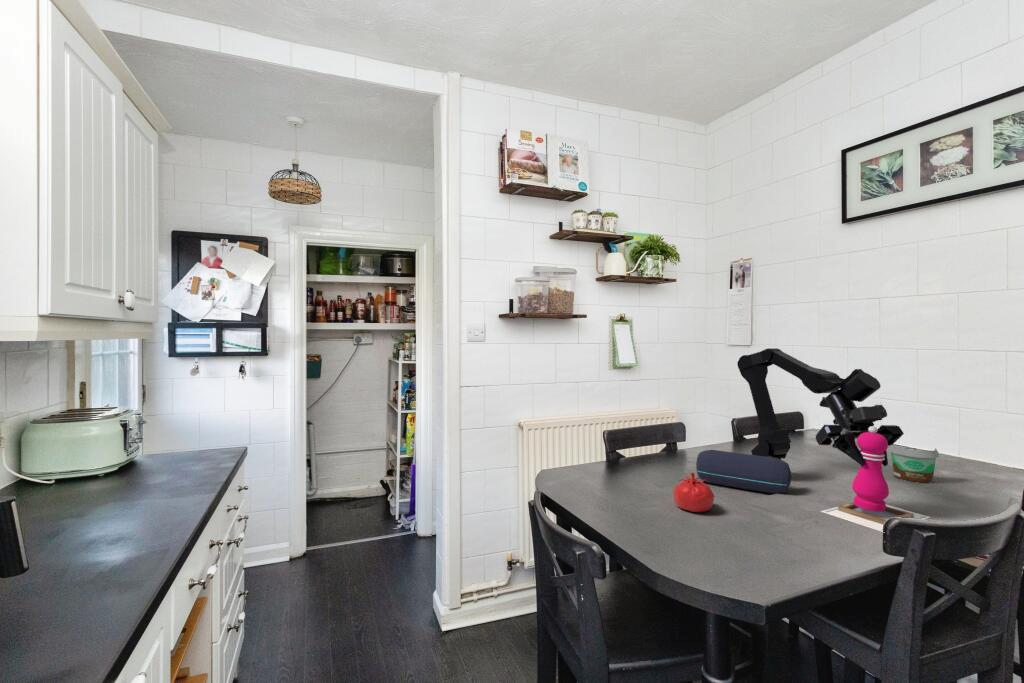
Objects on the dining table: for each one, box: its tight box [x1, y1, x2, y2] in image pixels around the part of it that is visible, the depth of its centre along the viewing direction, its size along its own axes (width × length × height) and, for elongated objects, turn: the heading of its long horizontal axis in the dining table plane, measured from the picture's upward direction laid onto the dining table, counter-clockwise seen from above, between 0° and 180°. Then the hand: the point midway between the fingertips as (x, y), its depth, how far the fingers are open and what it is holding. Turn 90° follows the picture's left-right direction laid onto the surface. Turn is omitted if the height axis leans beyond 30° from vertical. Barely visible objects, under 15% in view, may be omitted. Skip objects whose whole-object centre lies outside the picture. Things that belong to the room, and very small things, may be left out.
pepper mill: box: [851, 426, 890, 512], centre depth 117 cm, size 7×7×20 cm
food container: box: [888, 445, 940, 484], centre depth 146 cm, size 12×6×10 cm, turn 68°
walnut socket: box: [837, 501, 914, 525], centre depth 117 cm, size 11×11×1 cm
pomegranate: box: [672, 471, 715, 513], centre depth 123 cm, size 10×10×9 cm
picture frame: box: [820, 504, 932, 533], centre depth 117 cm, size 20×14×1 cm
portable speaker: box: [695, 449, 792, 495], centre depth 140 cm, size 25×10×10 cm, turn 55°
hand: (875, 465), depth 115 cm, fingers closed on pepper mill, 5 cm apart
